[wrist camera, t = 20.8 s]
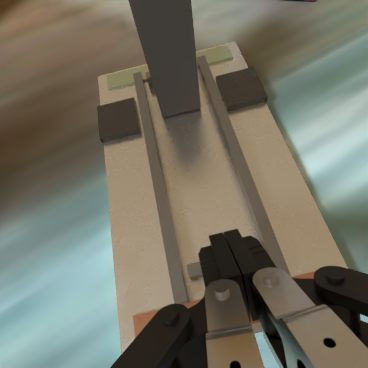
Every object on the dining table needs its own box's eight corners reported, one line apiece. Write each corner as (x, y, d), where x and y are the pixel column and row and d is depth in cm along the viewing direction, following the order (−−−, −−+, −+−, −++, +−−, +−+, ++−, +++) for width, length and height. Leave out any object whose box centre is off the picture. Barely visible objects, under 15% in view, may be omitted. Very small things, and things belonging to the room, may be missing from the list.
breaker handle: (161, 118, 24) (103, -77, 12) (154, 86, 26) (98, -108, 14) (202, 108, 24) (184, -98, 12) (191, 77, 26) (167, -127, 14)
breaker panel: (126, 363, 17) (113, 369, 15) (100, 83, 29) (92, 66, 27) (360, 306, 17) (379, 304, 15) (235, 49, 29) (236, 29, 27)
